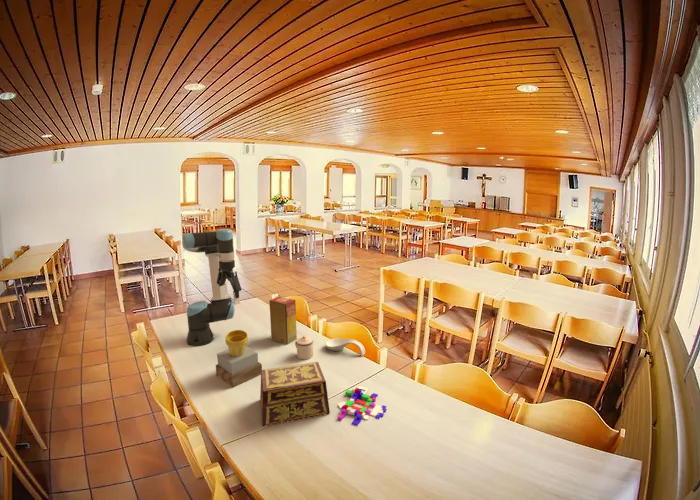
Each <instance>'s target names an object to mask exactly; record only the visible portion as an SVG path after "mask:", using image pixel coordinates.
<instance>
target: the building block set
mask: <svg viewBox="0 0 700 500" xmlns="http://www.w3.org/2000/svg"><path fill="white" fill-rule="evenodd" d="M368 390H370V388H368V387H365V386H362V385H358V387H353V388H351V389H347V390H345V393H344V394H345V396H347V395H348V397H349V396H351V397H349V398H350V399H349V400H348V401H347V402H346V401H340V402H338V404H337V407H338V408H339V410H340V411H341V412H340V414H339V415H338V416H337V420H338V419H339V421H341V420H342V419H343V420H344V419H345V418H346V416H347V415H349V414H351V415H352V416H354V417H355V418H354V419H353V420H352V422H351V425H353V424H354V425H353V426H356V425H358V424H361V422H362V419H361V418H364V419H365V420H364V419H363V420H364V421H368V420H369V417H370V416H371V415H372V417H374V418H375V419H377V418H378V419H377V420H380V418H383V417H384V415H385V413H386V412H387V411H386V410H387V406H386V405H383V404H382V405H379V404H375V403H376V400H377V398H378V397H379V394H378V393H375V392H373V393H371V394H370V395H369V394H367V393H368V392H369V391H368ZM362 391H363V392H362ZM376 397H377V398H376ZM357 399H358V400H357ZM361 399H362V400H361ZM364 400H365V401H364ZM366 400H367V401H366ZM373 402H375V403H373ZM354 403H355V404H356V403H357V404H356V405H360V404H361V405H360V406H363V405H364V406H363V407H359V406H355V404H354ZM372 407H373V408H372ZM369 408H372V410H371V409H369ZM365 413H366V414H365ZM368 414H369V415H368ZM345 415H346V416H345ZM367 419H368V420H367ZM343 420H342V421H343ZM358 426H359V425H358Z"/></svg>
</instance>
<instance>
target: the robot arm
mask: <svg viewBox="0 0 700 500" xmlns="http://www.w3.org/2000/svg"><path fill="white" fill-rule="evenodd" d="M181 242H182V243H181V244H182V248H184V250H185V251H188V252H191V253H196V254H197V253H204V255H205V257H207V258H208V267H209V276H210V282H211V292H212V297H211V299H210V302H208V301H206V300H201V301H196V302H193V303H191V304H189V305H188V306H187V307H186V318H187V326H188V328H187V329H188V331H187V336H186V344H187V346H190V347H201V346H205V345H207V344H211V343H212V342H213V341H214V339H215V338H214V336H215V335H214V333H213V331H212V329H211V326H210V324H211V323H215V322H217V323H218V322H221V321H227V320H231V319H233V318H234V315H235V306H236V305H238V304H241V303H240V302H241V301H240V292H241V291H242V286H241V283H240V280H239V277H238V272H237V271H234V268H236V263H235V249H234V235H233V230H232V229H231V228H221V229H220V228H219V229H217V230H216V231H215V230H214V231H213V230H212V231H204V232H203V231H202V232H201V231H200V232H188V233H183V234H182V241H181ZM227 281H228V282H229V283H230V285H231V288H232V290H233V291H232V295H233V297H232V298H233V299H232V298H231V296H230V295H229V294H228V286H227Z"/></svg>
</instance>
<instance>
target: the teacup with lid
mask: <svg viewBox="0 0 700 500" xmlns="http://www.w3.org/2000/svg"><path fill="white" fill-rule="evenodd" d="M294 344H295V347H296V356H297V359H300V360H302V361H303V360H310V359H311V358H313V356H314V346H313V345H314V339H313V338H311V337H309V336H307V335H302V337H299V338H297V339H296V340H295V342H294Z"/></svg>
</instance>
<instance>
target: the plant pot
mask: <svg viewBox="0 0 700 500" xmlns="http://www.w3.org/2000/svg"><path fill="white" fill-rule="evenodd" d="M224 340H225V345H226V346H227V348H228V349H229V352H230V354H231V355H232V356H235V357H236V356H241V355H242V354H243V353H244V350H245V346H247V345H246V344H247V343H248V341H249V334H248V332H247V331H245V330H242V329H233V330H230V331H229V332H228V333H226V335H225V339H224Z"/></svg>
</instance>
